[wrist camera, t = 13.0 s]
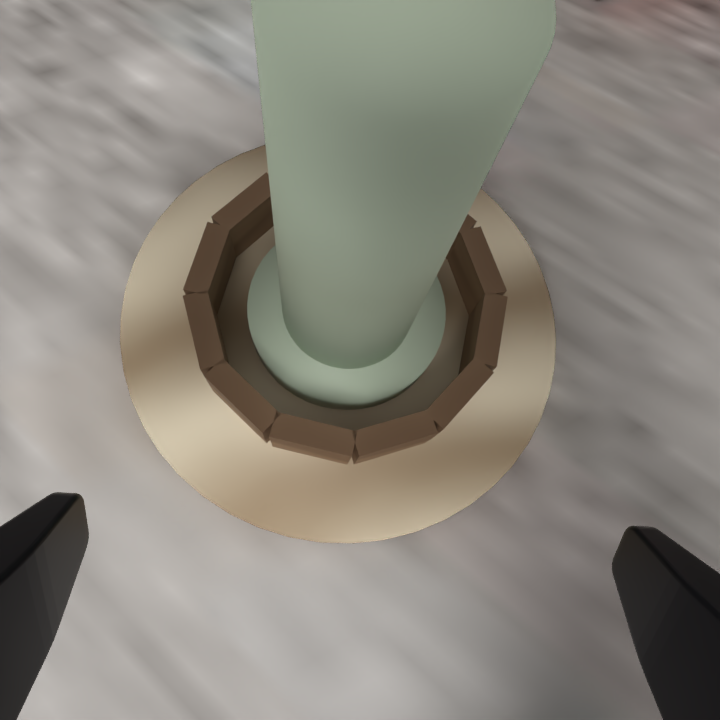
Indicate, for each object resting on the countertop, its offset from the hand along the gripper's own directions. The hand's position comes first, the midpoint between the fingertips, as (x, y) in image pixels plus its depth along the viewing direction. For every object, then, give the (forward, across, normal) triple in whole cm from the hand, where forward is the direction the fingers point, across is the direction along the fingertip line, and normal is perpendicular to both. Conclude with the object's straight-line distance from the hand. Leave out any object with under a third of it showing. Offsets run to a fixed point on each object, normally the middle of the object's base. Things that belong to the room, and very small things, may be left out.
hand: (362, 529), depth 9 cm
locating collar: (+13, 0, +2) cm, 13 cm away
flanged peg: (+12, 0, +1) cm, 12 cm away
